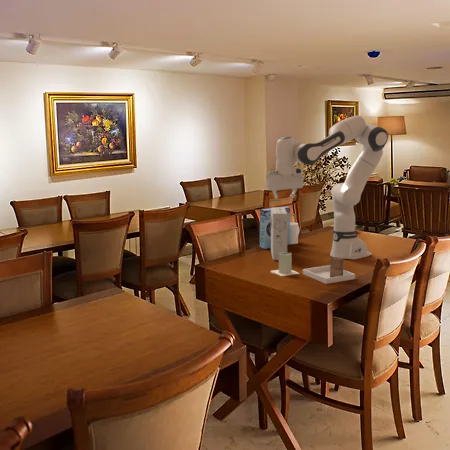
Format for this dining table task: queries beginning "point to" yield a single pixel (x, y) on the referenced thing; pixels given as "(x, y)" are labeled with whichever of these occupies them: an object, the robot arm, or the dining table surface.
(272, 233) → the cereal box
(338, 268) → the walnut box
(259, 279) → the dining table surface
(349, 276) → the white tray
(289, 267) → the sage box
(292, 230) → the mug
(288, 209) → the light blue carton
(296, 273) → the pad
